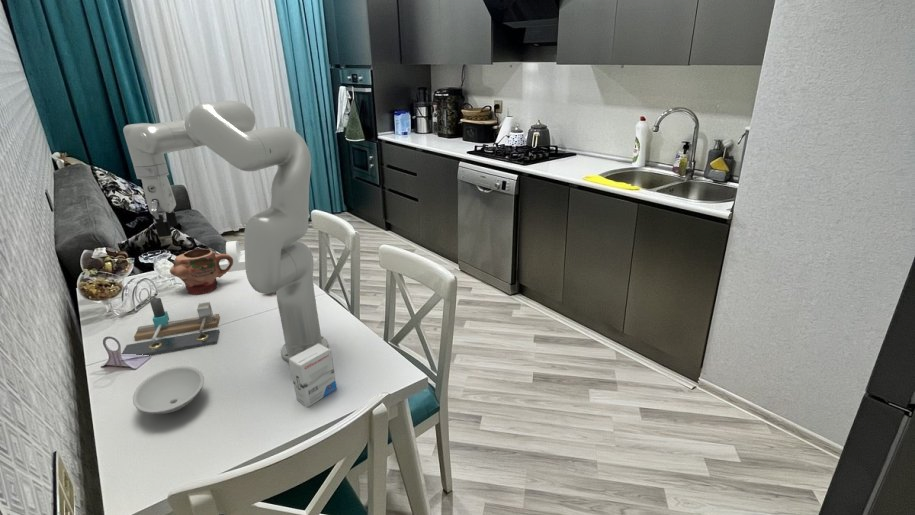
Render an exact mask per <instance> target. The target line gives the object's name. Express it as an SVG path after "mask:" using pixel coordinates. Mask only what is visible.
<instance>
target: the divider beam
mask: <svg viewBox="0 0 915 515" xmlns="http://www.w3.org/2000/svg"><path fill="white" fill-rule="evenodd" d="M196 311H197V314H198V315H197V317H191V318H184V319H179V320H172V321H168V323H167V325H166V326H162V327H161V329H160V331H159V333H158V335H157V337H156V338H160V337H167V336H173V335H178V334H184V333H190V332H196V331H199V332H200V335H201V336H202V335H203V333H202V332H203V330H207V329H216V328H218V327H219V324H220V319H221V316H220V313H215V314H214V313H213V308H212V305H211V302H210V301H207V302H200V303H198V305H197V309H196ZM157 328H158V327H155V326H154V323H153V324H148V325H146V324H145V325H141V326H138V327H137V328H136V329H137V330H136V332H135V334H134V336H133V338H134V341H135V342H138V341H143V340H149V339H150V340H151V339H152V338H153V336H154V334H155V332H156V330H157ZM199 332H198V333H199Z"/></svg>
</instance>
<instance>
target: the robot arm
mask: <svg viewBox="0 0 915 515" xmlns="http://www.w3.org/2000/svg"><path fill="white" fill-rule="evenodd" d="M255 124H256V117H255V114H254V111H253V110H252V109H251V108H250V107H249V106H248V105H247V104H246V103H243V102H241V101H237V100H223V101H212V102H203V103H199V104H198V105H195V106H194V107H193V108H192V109H191V111H190V112H188V113H187V114H186V116H185V117H184V119H181V120H180V119H179V120H173V121H165V122H158V123H157V122H156V123H149V122H147V123H146V122H140V123H132V124H126V125H125V126H124V127H123V129H122V130H123V131H122V132H123V135H124V139H125V142H126V146H127V149H128V152H129V156H130V160H131V162H132V165H133V169H134V173H135V175H136V179H137V180H141V183H142V188H143V192H144V196H145V200H146V203H147V207H148V211H149V213H150V214H151V215H152V219H153V222H154V223H153V224H154V227H155V230H156V234H157V237H158V238H162V237H163V238H164V237H169V236H170V237H171V236H172V234H173V233H172V229H171V227H178V225H179V224H178V220H177V216H176V212H175V208H176V206H177V202H176V198H175V195H174V192H173V190H172V186H171V183H170V180H169V178H168V176H169V175H170V173H169V169H168V165H167V161H166V158H165V154H169V153H173V152H178V151H184V150H191V149H194V148H198V147H202V146H203V147H207V148H208V149H210V150H211V152H214V153H215V154H216V155H218V156H219V157H221V158H222V159H223V160H225V162H227V163H229V164H230V165H232V166H233V167H234V168H236V169H238V170H240V171H242V172H257V171H259V170H260V171H261V170H263V169H267V168H270V167H274V166H277V171H276V173H275V175H274V177H273V179H272V182H271V188H270V192H271V195H270V196H271V200H270V201H271V202H270V207H269V208H268V209H265V210H264V211H261V212H259V213H256V214H254V215H253V216H251V217H250V218H249V219H248V221H247V222H246V225H245V227H244V231H243V232H244V233H243V242H244V245H243V246H244V254H245V268H246V270H245V274H246V278H247V281H248V283H249V284H250V286H251V288H252V289H253V290H254V291H255V292H258V293H260V294H263V295H264V294H265V295H269V294H273V293H276V301H277V307H278V312H279V313H278V314H279V317H280V323H281V328H282V333H283V339H284V343H285V344H283V345H282V346H281V349H280V356H281V358H282V359H283V360H285V361H287V362H289V358H291V357H293V356H295V355H297V354H299V353H301V352H303V351H305V350H307V349H309V348H311V347H313V346H314V345H316V344H318V343H319V344H322V345H324V346H326V347H327V348H329V342H328V339H327V338H326V337H324V336H322V333H321V328H320V321H319V313H318V308H317V301H316V295H315V287H314V286H315V285H314V255H313V253H312V251H311V249H310V247H309V246H308V245H306V244H305V243H304V242H302V241H299V240H301V239H302V238H303V237H305V236H306V234H307V232H308V229H309V214H310V212H309V211H310V210H309V209H310V208H309V206H310V204H309V203H310V194H309V193H310V192H309V191H310V180H311V174H312V173H311V171H312V156H311V152H310V148H309V147H308V145H307V143H306V141H305V140H304V138H303V137H302V136H301V135H300V134H299V133H298V132H297V131H295V130H293V129H291V128H290V127H285V126H271V127H266V128H260V129H254V128H255V126H256V125H255Z"/></svg>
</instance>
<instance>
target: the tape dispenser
mask: <svg viewBox="0 0 915 515" xmlns="http://www.w3.org/2000/svg"><path fill="white" fill-rule="evenodd" d="M225 252H226V253H225V254H227V255H230V256H231V257H232V259H233V265H232V266H231V268H230V269H229V271H228V272H227V273H232V272H239V271H246V268H245V253H241V252H242V251H241V247H240V244H239V241H238V240H231V241H226V243H225ZM229 264H230V263H229V261H228V260H227V259H222V260H220V262H219V265H220V268H221V269H223V270H224V269H226V268H227V267H228V266H229Z"/></svg>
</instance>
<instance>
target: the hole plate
mask: <svg viewBox="0 0 915 515" xmlns="http://www.w3.org/2000/svg"><path fill="white" fill-rule="evenodd" d="M202 333H203V335H202V336H201V335H200V332H195V333H188V334H182V335H176V336H171V337H163V338H159V339H155V341H156V344H154V343H153V340H152V339H151V340H147V341H142V342H135V343H131V344H126V346H125V347H124V348H123V351H122V352H121V354H136V355H142V354H143V355H149V356H148V357H152V356H157V354H158V355H163V354H169V353H174V352H179V351H180V352H181V351H185V350H191V349H196V348H202V347H207V346H213V345H217V344H218V340H219V336H220V333H221V332H220V329H219V328H218V329H211V330H207V331H202ZM162 353H163V354H162ZM150 355H151V356H150Z"/></svg>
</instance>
